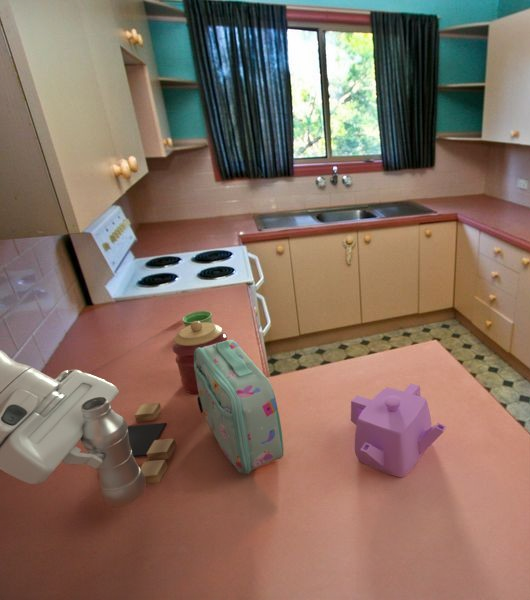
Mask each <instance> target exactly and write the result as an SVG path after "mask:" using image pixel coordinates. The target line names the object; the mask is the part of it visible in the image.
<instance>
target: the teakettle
mask: <svg viewBox="0 0 530 600" xmlns="http://www.w3.org/2000/svg"><path fill="white" fill-rule="evenodd" d="M350 421H351V422H352V423H353V424H354V425H355V427H356V428H355V434H354V454H355V457H356V458H357V460H358V462H360V463H361V464H363V465H364V466H365V465H366V466H367V467H370V468H373V469H375V470H377V471H380V472H383V473H385V474H388V475H391V476H394V477H396V478H405V477H406V476H407V475H408V474H409V473H410V472H411V471H412V470H413V469H414V468H415V466H416V465H417V464H418V463H419V461H420V459H421V458H422V457H423V455H424V452H426V451H427V450H428V449H429V447H430V446H431V445H433V444H434V442H435V441H436V440H437V439H438V438H439V437H440V436H441V435H442V434H443V433H444V432H445V430H446V429H447V426H446V425H443V424H442V423H439V422H437V423H436V424H434V425H432V417H431V412H430V408H429V403H428V401H427V399H426V398H425V397H422V396H421V386H420V385H418V384H415V383H410V384H409V385H407V387H406V388H405V389H404V390H400V389H396V388H391V387H385V388H383V389H381V390H380V391H379V392H378V393H377V394H376V395H375V396H374V397H373V398H371V399H370V398H368V397H364V396H360V395H356V396H354V398H353V399H352V400H351V401H350Z"/></svg>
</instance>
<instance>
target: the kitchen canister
mask: <svg viewBox="0 0 530 600" xmlns="http://www.w3.org/2000/svg"><path fill="white" fill-rule="evenodd" d="M227 340H228V334H226V333H225V332H224V331H223V328H222V326H220V325H218V324H215V323H213V322H212V323H207V322H203V323H200V322H199V321H194V322H192V323H191V325H189V326H187V327H185V326H184V327H183V328H182V329H180V330H179V331H178V332H177V333H176V334H175V335H174V337H173V342H174V343H173V345H172V348H171V349H172V352H173V353H174V354H176V356H175V363H176V364H177V368H178V371H179V376H180V382H181V385H182V386H183V388H184V390H185V391H186V392H188V393H190V394H193V395H194V394H195V395H199V392H198V386H197V381H196V374H195V370H194V352H195V350H196V349H197V348H199V347H200V348H203V347H205V346H209V345H213V344H216V343H220V342H223V341H227Z"/></svg>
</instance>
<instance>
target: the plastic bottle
mask: <svg viewBox="0 0 530 600" xmlns="http://www.w3.org/2000/svg"><path fill="white" fill-rule="evenodd" d="M111 409H112V406H111V403H110V404H109V402H108V399H107V398H106V397H95V398H92V399H89V400H87V401H86V402H84V403H83V404H82V405H81V411H82V416H83V419H84V420H86V421H85V423H84V425H83V436H82V438H81V439H80V440H79V441H80V442H81V444H82V445H83V447H84V448H85V450H86V453H90V454H94V452H95V451H97V452H100V453H101V454H104V455H105V456H106V457H105V459H104V460H103V462H102V463H101V464H100V466H99V467H98V468H96V471H97V474H98V478H99V483H100V492H101V497H102V499H103V501H104V502H105V503H106V504H107V505H108V506H111V507H114V508H124V507H126V506H129V505H131V504H133V503H135V502H136V501H137V500H139V499H140V498H141V497H142V496H143V494H144V492H145V490H146V486H147V484H146V482H145V476H144V474H143V472H142V471H141V469H140V468H141V467H140V466H139V465H138V462H137V461H136V457H134V456H133V454H132V450H131V446H130V442H129V435H128V427H127V425H128V423H127V421H126V420H125V418H124V417H123V416H122V415H120V414H118V413H117V412H115V411H114V412H112V411H111Z"/></svg>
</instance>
